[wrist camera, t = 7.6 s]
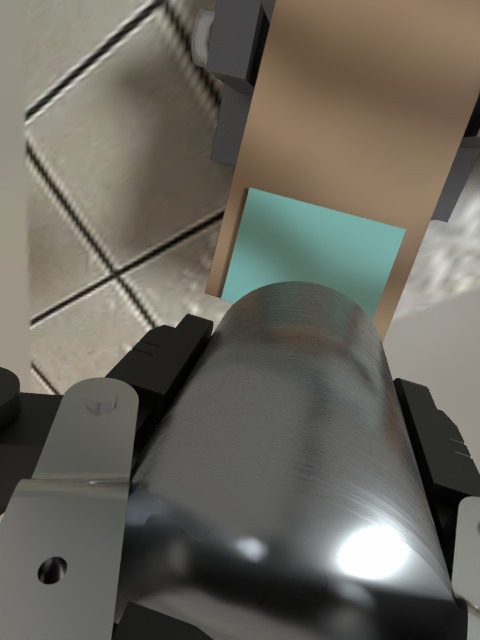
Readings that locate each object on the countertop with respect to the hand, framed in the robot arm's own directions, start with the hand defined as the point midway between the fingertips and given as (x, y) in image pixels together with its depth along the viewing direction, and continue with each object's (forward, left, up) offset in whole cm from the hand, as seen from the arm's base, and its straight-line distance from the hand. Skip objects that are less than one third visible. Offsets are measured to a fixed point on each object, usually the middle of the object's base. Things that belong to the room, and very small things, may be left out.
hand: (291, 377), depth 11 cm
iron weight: (0, 0, -1) cm, 1 cm away
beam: (-9, 0, -14) cm, 17 cm away
